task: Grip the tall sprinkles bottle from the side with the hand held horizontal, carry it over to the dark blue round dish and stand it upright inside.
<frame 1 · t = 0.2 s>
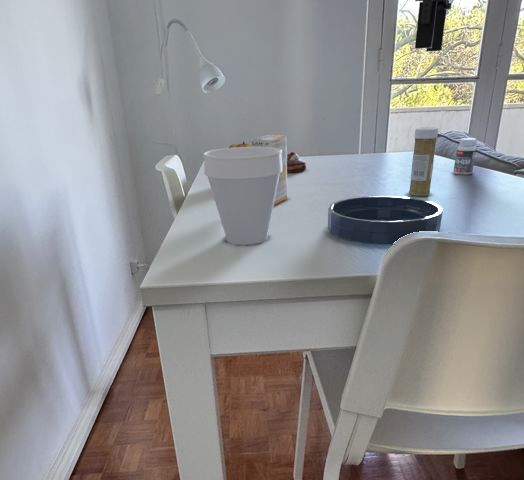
hand: (428, 50, 86), 27 cm above the table, tool pointing down, fingers open, 13 cm apart
apple: (244, 183, 124), on the table
pastry: (293, 171, 138), on the table
dark blue round dish: (382, 231, 80), on the table
pill bottle: (462, 174, 125), on the table
supplement box: (270, 203, 103), on the table
sprinkles bottle: (418, 195, 104), on the table
white flower pot: (247, 239, 79), on the table
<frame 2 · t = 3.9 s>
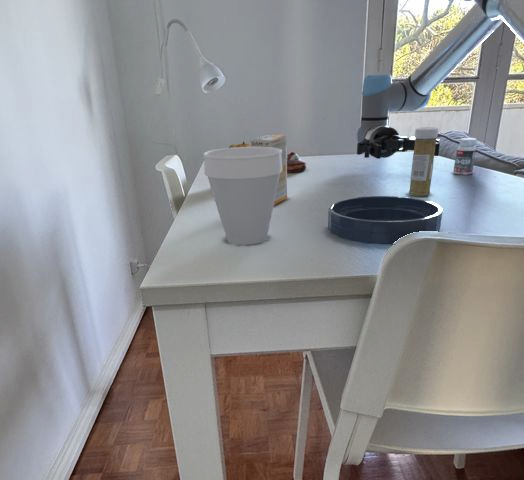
hand: (408, 151, 108), 8 cm above the table, tool horizontal, fingers open, 13 cm apart
nothing on the table moved.
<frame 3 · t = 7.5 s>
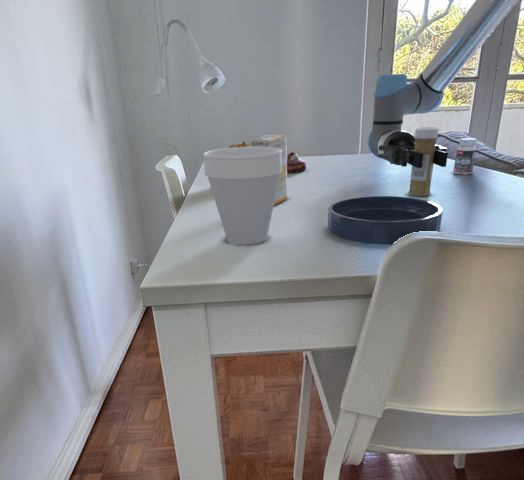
hand: (432, 160, 95), 8 cm above the table, tool horizontal, fingers closed on sprinkles bottle, 4 cm apart
sprinkles bottle: (418, 195, 104), on the table, touching gripper
everything else where it was.
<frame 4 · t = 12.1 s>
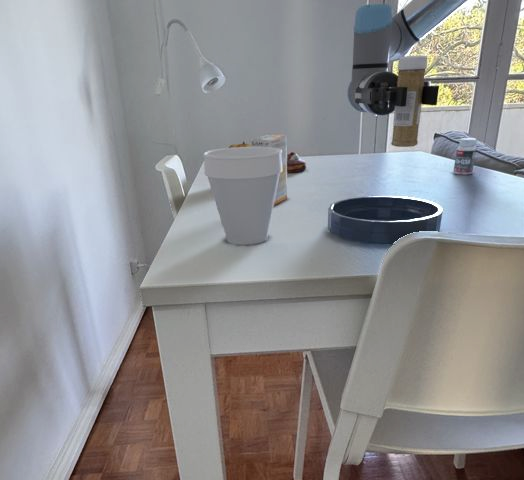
hand: (419, 96, 74), 20 cm above the table, tool horizontal, fingers closed on sprinkles bottle, 4 cm apart
sprinkles bottle: (403, 146, 83), point 12 cm above the table, touching gripper
everything else where it was.
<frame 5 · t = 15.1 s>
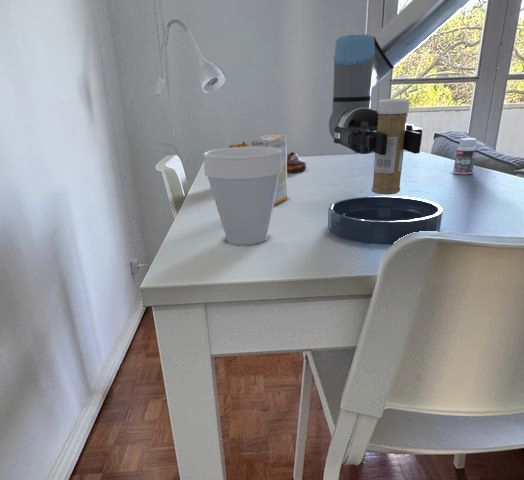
hand: (401, 144, 68), 14 cm above the table, tool horizontal, fingers closed on sprinkles bottle, 4 cm apart
sprinkles bottle: (385, 193, 77), point 6 cm above the table, touching gripper
everything else where it was.
when the fingers open (8 cm above the table, at t = 17.0 s): sprinkles bottle stays where it is, resting on dark blue round dish.
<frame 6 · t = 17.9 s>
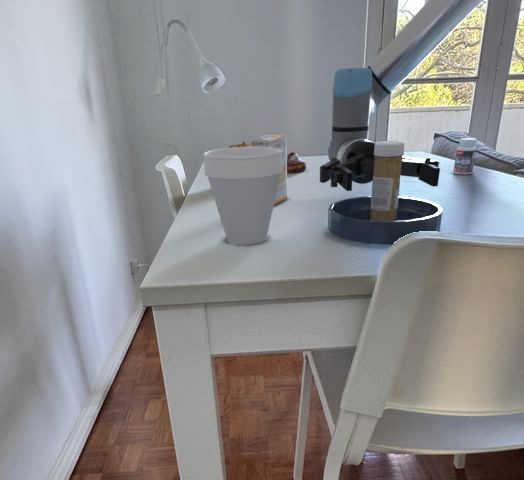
hand: (393, 179, 73), 9 cm above the table, tool horizontal, fingers open, 13 cm apart
sprinkles bottle: (381, 229, 80), resting on dark blue round dish
everything else where it was.
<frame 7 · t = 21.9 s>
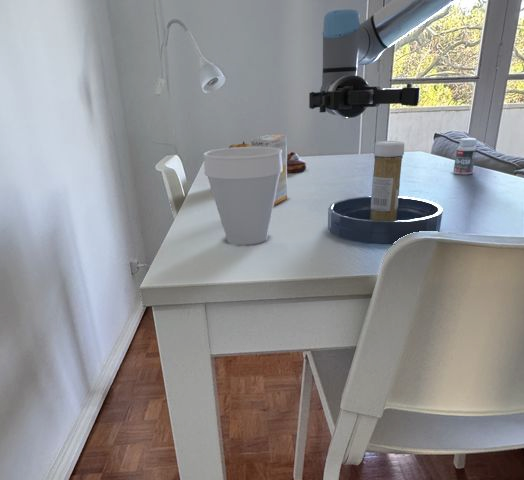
hand: (376, 98, 79), 20 cm above the table, tool horizontal, fingers open, 13 cm apart
nothing on the table moved.
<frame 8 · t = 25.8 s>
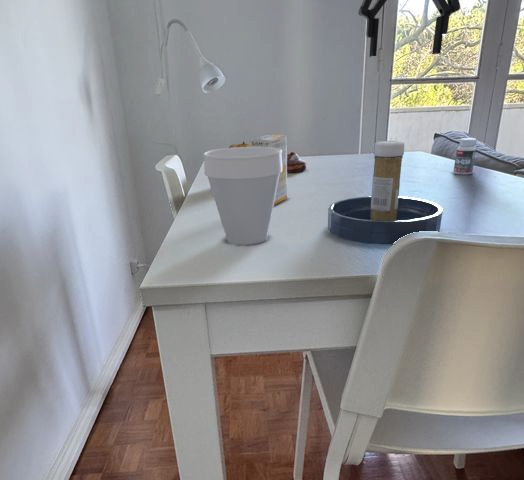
hand: (404, 55, 99), 27 cm above the table, tool pointing down, fingers open, 13 cm apart
nothing on the table moved.
at the end: sprinkles bottle inside the target area in the dark blue round dish (0.0 cm from its centre), point 0.4 cm above the dark blue round dish's base; sprinkles bottle tilted 0°; the gripper is holding nothing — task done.
